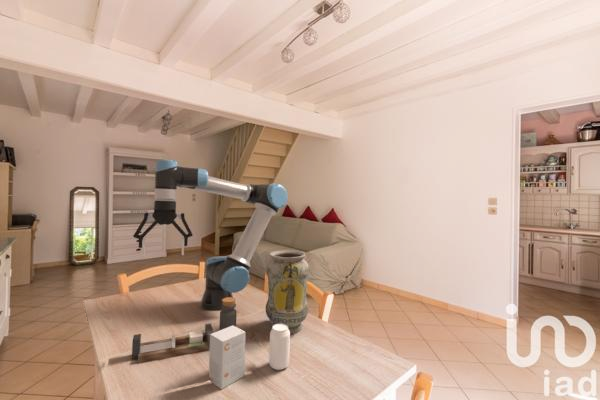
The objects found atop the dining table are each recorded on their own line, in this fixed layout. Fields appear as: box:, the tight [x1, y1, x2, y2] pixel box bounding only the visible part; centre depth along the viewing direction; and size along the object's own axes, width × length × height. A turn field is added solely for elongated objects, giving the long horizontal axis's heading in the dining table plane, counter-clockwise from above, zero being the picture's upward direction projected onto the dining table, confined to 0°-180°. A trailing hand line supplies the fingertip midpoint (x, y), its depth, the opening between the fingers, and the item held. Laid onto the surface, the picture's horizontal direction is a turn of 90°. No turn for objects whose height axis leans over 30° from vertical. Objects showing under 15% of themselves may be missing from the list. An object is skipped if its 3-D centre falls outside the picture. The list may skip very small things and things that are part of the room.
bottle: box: [218, 297, 238, 331], centre depth 100 cm, size 6×6×15 cm
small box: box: [208, 325, 246, 390], centre depth 79 cm, size 8×6×13 cm
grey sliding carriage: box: [131, 333, 176, 360], centre depth 88 cm, size 12×7×6 cm, turn 115°
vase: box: [265, 249, 310, 335], centre depth 113 cm, size 18×18×30 cm
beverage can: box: [268, 324, 291, 371], centre depth 86 cm, size 6×6×12 cm
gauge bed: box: [137, 323, 215, 365], centre depth 92 cm, size 22×9×6 cm, turn 115°
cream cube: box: [188, 330, 203, 344], centre depth 94 cm, size 4×4×4 cm
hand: (163, 255), depth 106 cm, fingers open, 13 cm apart
